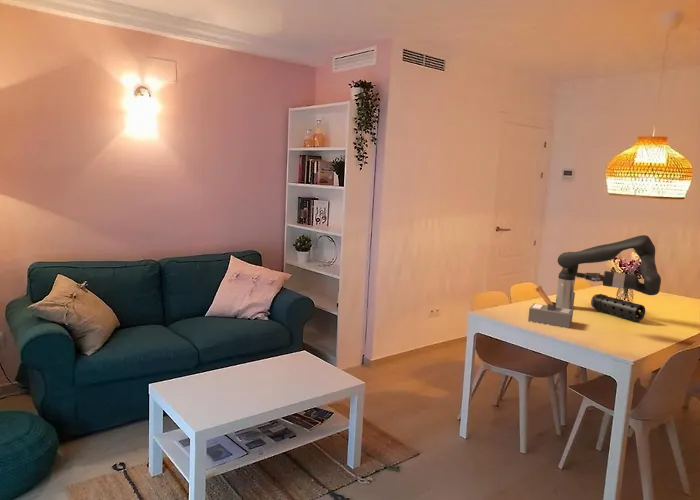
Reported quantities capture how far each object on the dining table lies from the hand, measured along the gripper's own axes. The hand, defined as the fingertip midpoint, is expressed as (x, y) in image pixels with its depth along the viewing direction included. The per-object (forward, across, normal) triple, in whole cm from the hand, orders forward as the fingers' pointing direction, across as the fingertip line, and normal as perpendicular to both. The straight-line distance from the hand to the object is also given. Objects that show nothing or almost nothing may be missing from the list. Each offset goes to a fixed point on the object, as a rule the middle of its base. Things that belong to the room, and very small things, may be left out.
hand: (576, 274), depth 267 cm
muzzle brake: (-20, +39, -28) cm, 52 cm away
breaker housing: (+10, 0, -27) cm, 29 cm away
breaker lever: (+10, 0, -19) cm, 21 cm away
